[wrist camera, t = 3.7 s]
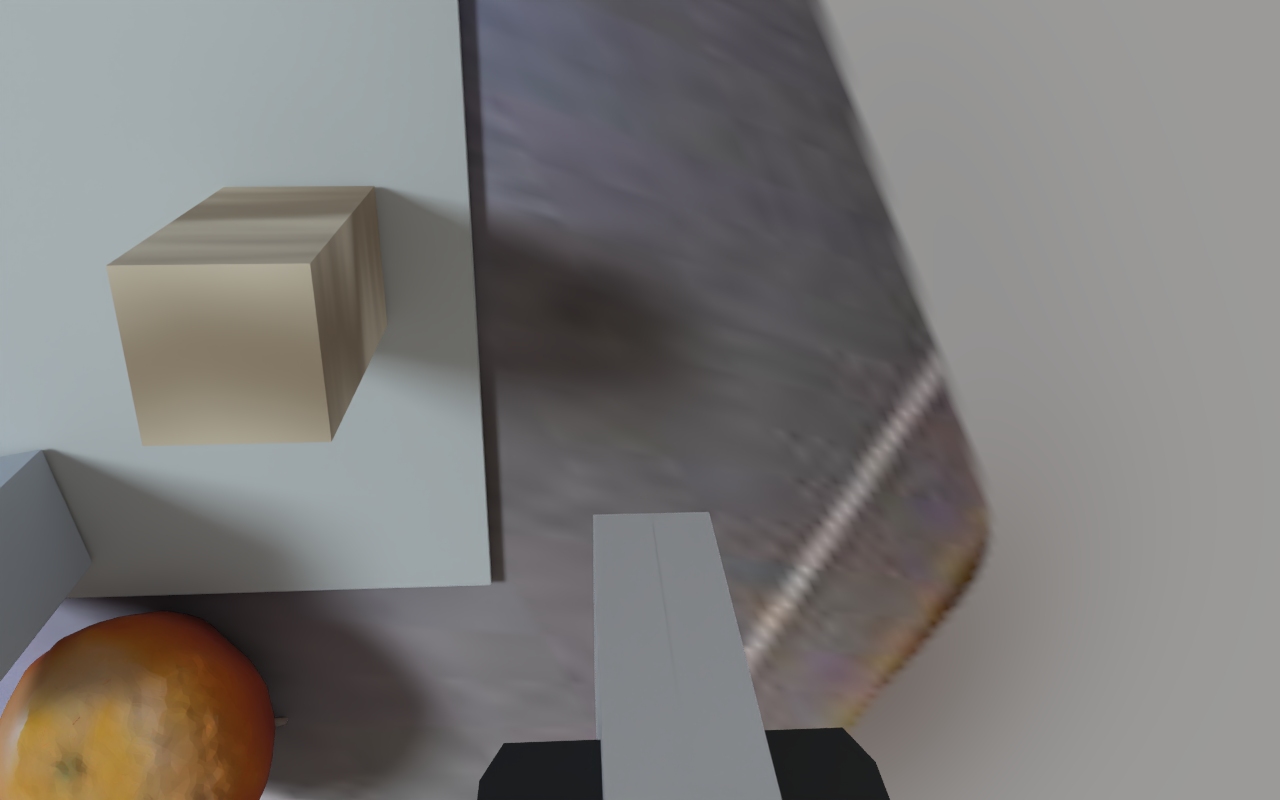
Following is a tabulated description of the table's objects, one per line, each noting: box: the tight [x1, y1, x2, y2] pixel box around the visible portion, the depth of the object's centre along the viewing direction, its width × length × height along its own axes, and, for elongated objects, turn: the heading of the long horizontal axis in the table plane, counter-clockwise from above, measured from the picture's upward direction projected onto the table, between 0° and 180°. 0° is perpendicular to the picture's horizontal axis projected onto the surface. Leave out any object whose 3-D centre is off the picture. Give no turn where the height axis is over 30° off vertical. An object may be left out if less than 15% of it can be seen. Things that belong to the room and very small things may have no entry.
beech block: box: [106, 186, 387, 446], centre depth 25 cm, size 4×4×8 cm
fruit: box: [0, 611, 288, 800], centre depth 32 cm, size 8×8×8 cm
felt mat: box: [0, 0, 492, 598], centre depth 29 cm, size 19×19×1 cm
